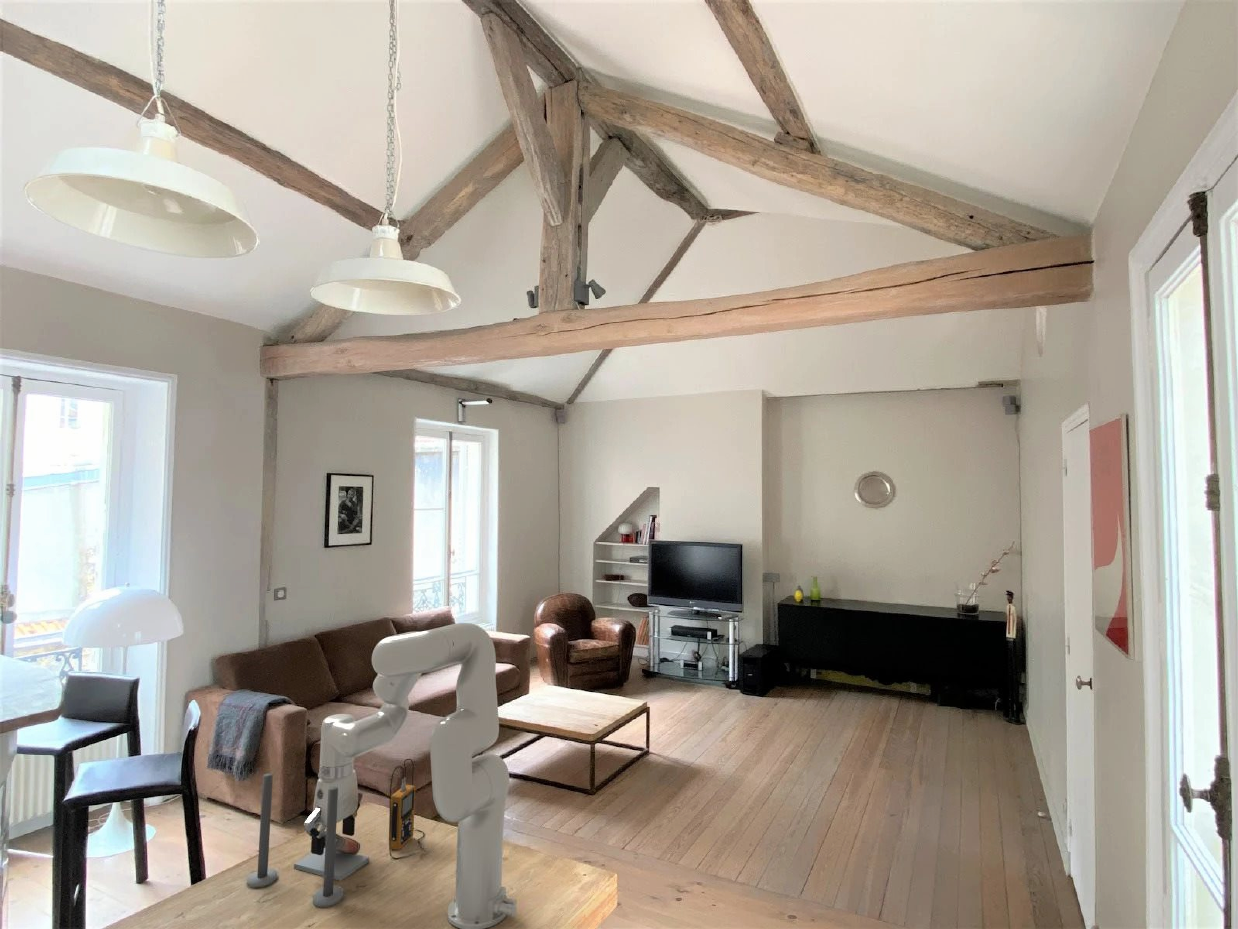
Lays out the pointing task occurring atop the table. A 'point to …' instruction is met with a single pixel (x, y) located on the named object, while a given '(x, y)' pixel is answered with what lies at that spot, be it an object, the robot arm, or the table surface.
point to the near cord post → (329, 857)
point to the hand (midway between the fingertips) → (333, 844)
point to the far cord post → (264, 839)
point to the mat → (341, 867)
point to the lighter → (345, 845)
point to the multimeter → (402, 815)
